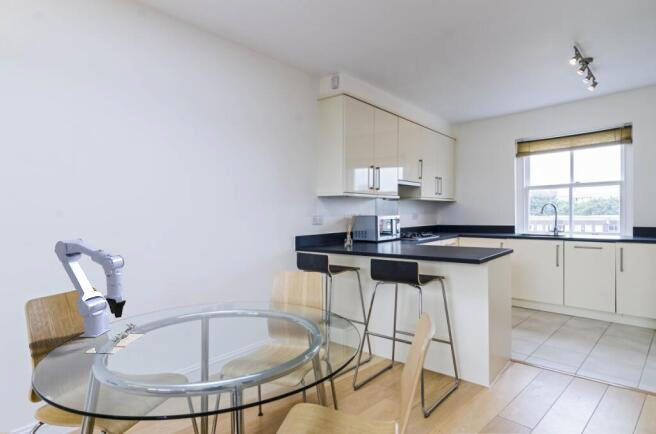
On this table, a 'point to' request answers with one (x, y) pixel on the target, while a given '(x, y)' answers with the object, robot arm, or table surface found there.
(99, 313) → the robot arm
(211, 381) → the table surface
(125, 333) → the soldier figure
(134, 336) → the mat
